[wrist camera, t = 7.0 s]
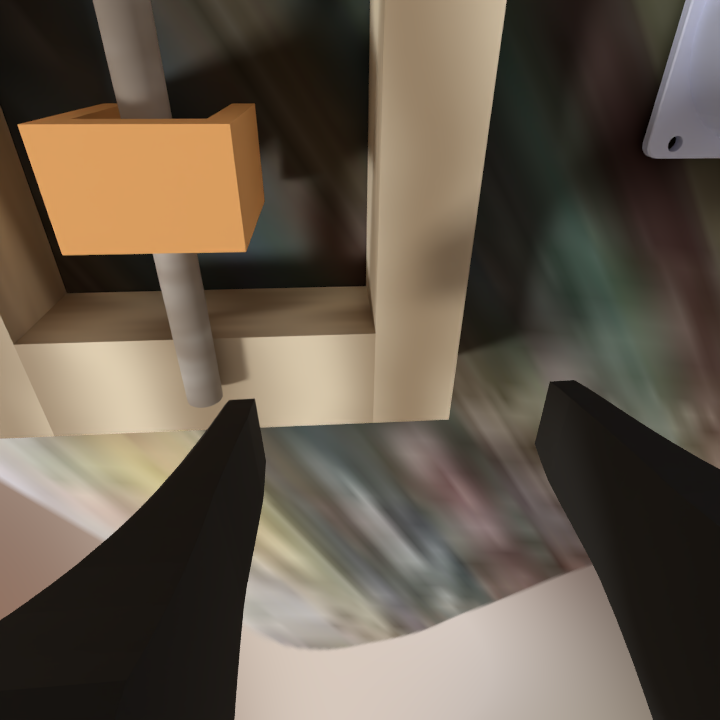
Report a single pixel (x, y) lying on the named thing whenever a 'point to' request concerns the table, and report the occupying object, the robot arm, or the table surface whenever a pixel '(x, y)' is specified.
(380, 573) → the table surface
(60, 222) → the bracket
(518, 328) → the table surface
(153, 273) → the table surface
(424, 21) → the rectangular frame
